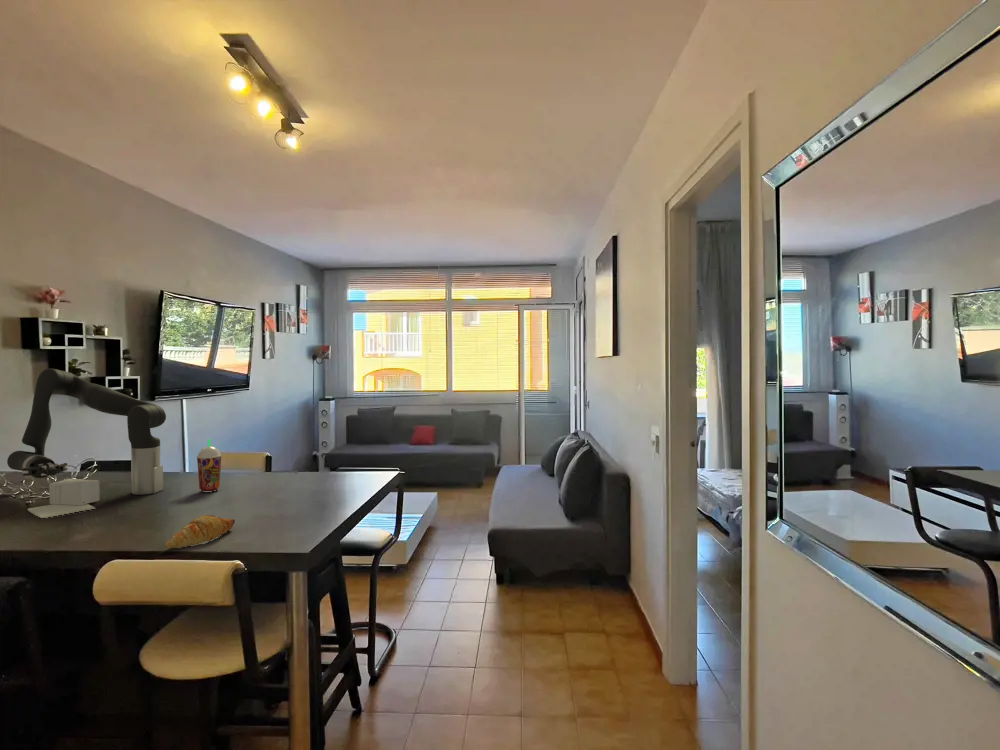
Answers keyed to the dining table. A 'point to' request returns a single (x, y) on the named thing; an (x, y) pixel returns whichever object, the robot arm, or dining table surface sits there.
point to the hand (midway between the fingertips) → (53, 472)
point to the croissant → (200, 531)
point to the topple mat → (58, 510)
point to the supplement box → (74, 492)
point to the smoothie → (209, 468)
